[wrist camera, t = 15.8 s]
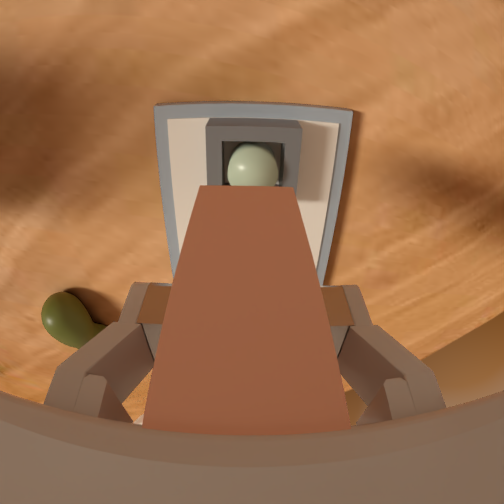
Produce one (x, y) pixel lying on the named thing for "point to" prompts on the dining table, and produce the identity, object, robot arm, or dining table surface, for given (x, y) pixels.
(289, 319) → the terracotta rectangular block
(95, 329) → the pear
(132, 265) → the dining table surface
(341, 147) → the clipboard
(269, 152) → the button
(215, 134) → the button housing
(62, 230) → the dining table surface
